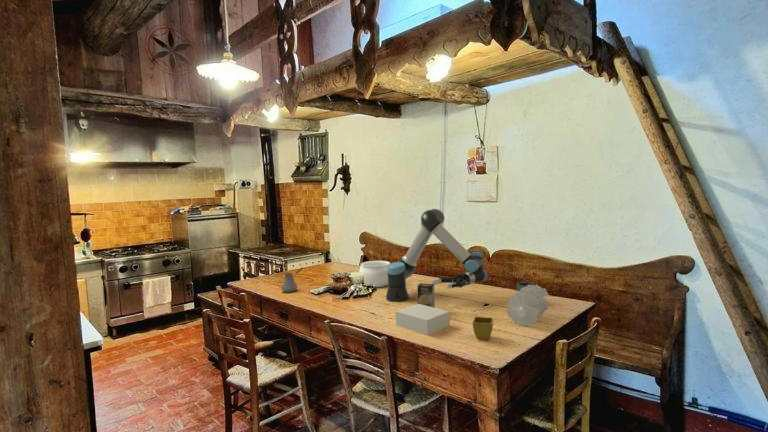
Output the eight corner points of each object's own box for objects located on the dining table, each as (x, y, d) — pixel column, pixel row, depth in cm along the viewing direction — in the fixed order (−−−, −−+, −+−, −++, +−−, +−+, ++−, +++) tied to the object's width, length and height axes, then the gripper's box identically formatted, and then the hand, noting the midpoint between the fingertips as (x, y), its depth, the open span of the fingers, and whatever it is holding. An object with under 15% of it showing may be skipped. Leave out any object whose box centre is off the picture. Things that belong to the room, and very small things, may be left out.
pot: (401, 283, 309) (401, 262, 308) (378, 290, 289) (378, 268, 288) (373, 278, 328) (373, 258, 327) (350, 285, 309) (349, 264, 307)
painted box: (396, 325, 216) (395, 311, 215) (418, 317, 228) (418, 303, 227) (427, 335, 200) (426, 320, 199) (449, 326, 212) (449, 311, 211)
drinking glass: (515, 304, 245) (515, 284, 244) (518, 299, 253) (518, 281, 253) (533, 305, 240) (533, 286, 239) (535, 301, 249) (535, 282, 248)
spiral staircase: (513, 333, 208) (526, 317, 228) (545, 324, 198) (556, 308, 218) (497, 301, 210) (512, 287, 231) (528, 290, 200) (540, 277, 221)
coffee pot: (289, 293, 289) (288, 273, 288) (278, 292, 295) (277, 272, 294) (309, 287, 307) (308, 267, 306) (298, 285, 313) (297, 266, 312)
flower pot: (472, 340, 191) (472, 322, 190) (475, 334, 199) (474, 316, 198) (491, 342, 188) (491, 323, 187) (493, 335, 196) (493, 317, 195)
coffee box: (417, 312, 236) (416, 285, 235) (420, 309, 242) (419, 283, 241) (432, 313, 233) (432, 286, 232) (435, 310, 239) (434, 283, 238)
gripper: (480, 288, 241) (453, 294, 230) (453, 281, 263) (427, 287, 252) (480, 276, 241) (453, 282, 230) (452, 270, 262) (426, 275, 251)
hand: (439, 284), depth 241 cm, fingers open, 13 cm apart
